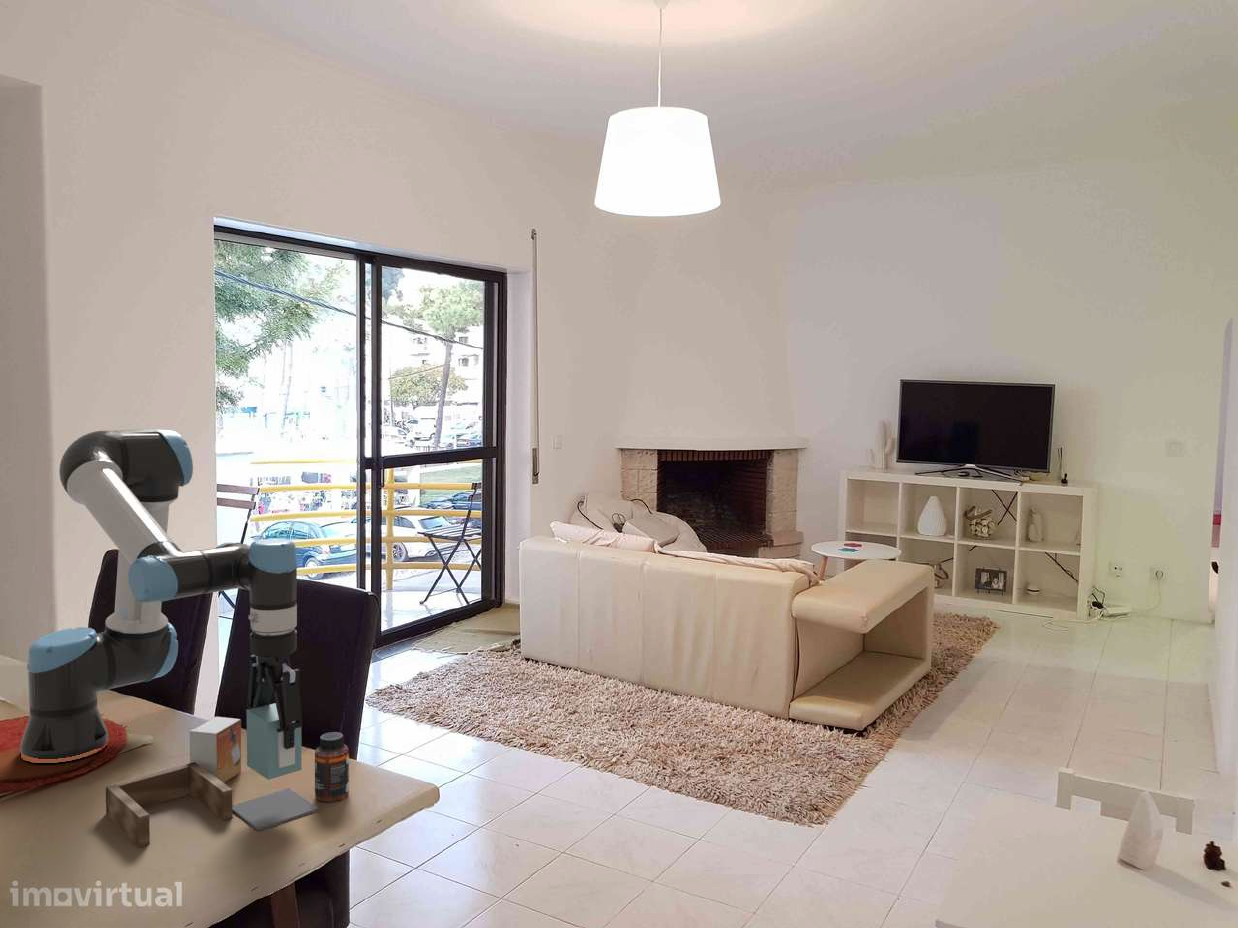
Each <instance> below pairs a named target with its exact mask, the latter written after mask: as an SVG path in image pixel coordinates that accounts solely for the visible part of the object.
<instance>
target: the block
mask: <svg viewBox="0 0 1238 928" xmlns="http://www.w3.org/2000/svg"><path fill="white" fill-rule="evenodd" d="M279 728H280V723H279V717H278V712H277V707H276V702H274V703H270V704H269V705H266V706H262V707H257V708H253V709H252V708H250V709H249V708H248V709H246V766H247V767H248V768H250V769H251V770H253V771H254V772H256V773H257V774H259V775H260V776H261V777H263V778H265V779H267V780H273V779H276V778H279V777H282V776H286V775H289V774H293V773H295V772H299V771H301V770H302V727H299V728H295V764H292V765H289V766H286V767H282V768H279V767H278V732H277V730H276V729H279Z"/></svg>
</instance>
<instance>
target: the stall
mask: <svg viewBox="0 0 1238 928" xmlns="http://www.w3.org/2000/svg"><path fill="white" fill-rule="evenodd" d="M189 794H190V795H192V796H193V797H194V798H195V799H196V800H197V801H199V802H200V803H202V804H203V805H204V806H206V807H207V809H209V810H210V811H211V812H213V813H214V814H215V815H217V816H218V817H219V818H221V820H223V821H226V820H229V819H232V818H233V811H232V805H233V789H232V788H231V787H230V786H229V785H227V784H226V783H223V782H222V781H220V780H219V779H218V778H216V777H215V776H213V775H212V774H211V773H209V772H208V771H207V770H205V769H204V768H203V767H201V766H200V765H198V764H197V763H196V762H193V763H190V762H189V763H187V764H182V765H179V766H175V767H172V768H167V769H164V770H163V769H162V770H159V771H156V772H153V773H149V774H144V775H141V776H138V777H134V778H129V779H127V780H123V781H119V782H116V783H112V784H108V785H105V813H106V815H107V817H109V818H110V820H111V821H112V822H113V823H115V824H116V826H118V828H120V830H122V831H123V832H124V833H125V834H126V835H127V837H129V838H130V839H131V840H132V841H133V842H134V843H135V844H136V845H137V846H138V847H139V848H142V847H144V846H148V845H150V844H151V843H150V841H151V839H150V838H151V837H150V836H151V835H150V833H151V832H150V831H151V830H150V814H149V813H148V811H146V810H145V809H144V808H146V807H150V806H152V805H155V804H159V803H162V802H166V801H169V800H172V799H173V800H174V799H176V798H179V797H182V796H186V795H189Z"/></svg>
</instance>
